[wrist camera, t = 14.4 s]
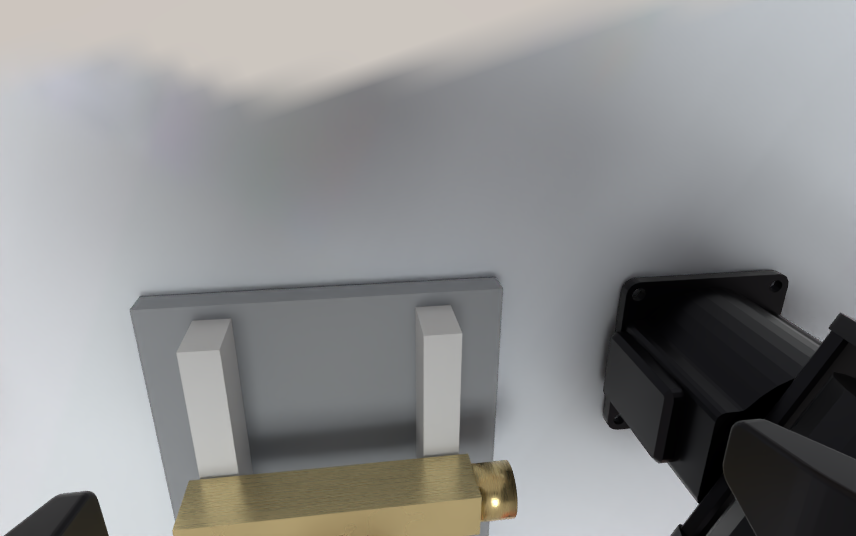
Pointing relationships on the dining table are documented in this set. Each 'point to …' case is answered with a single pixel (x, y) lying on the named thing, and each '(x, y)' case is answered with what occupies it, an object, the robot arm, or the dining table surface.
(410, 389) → the dock
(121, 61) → the dining table surface
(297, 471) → the pin
